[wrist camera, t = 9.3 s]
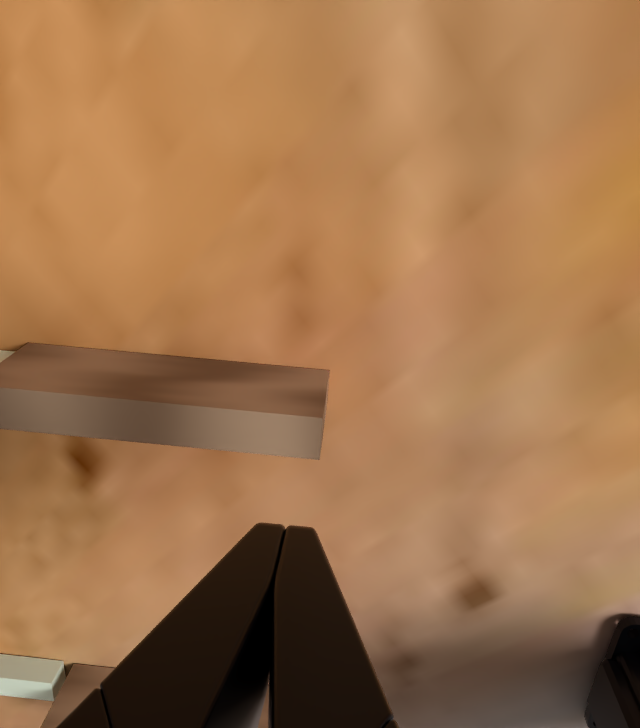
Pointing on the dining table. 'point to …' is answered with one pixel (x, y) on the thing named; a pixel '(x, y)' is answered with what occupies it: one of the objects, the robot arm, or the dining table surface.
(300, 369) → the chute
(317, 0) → the dining table surface
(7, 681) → the frame
